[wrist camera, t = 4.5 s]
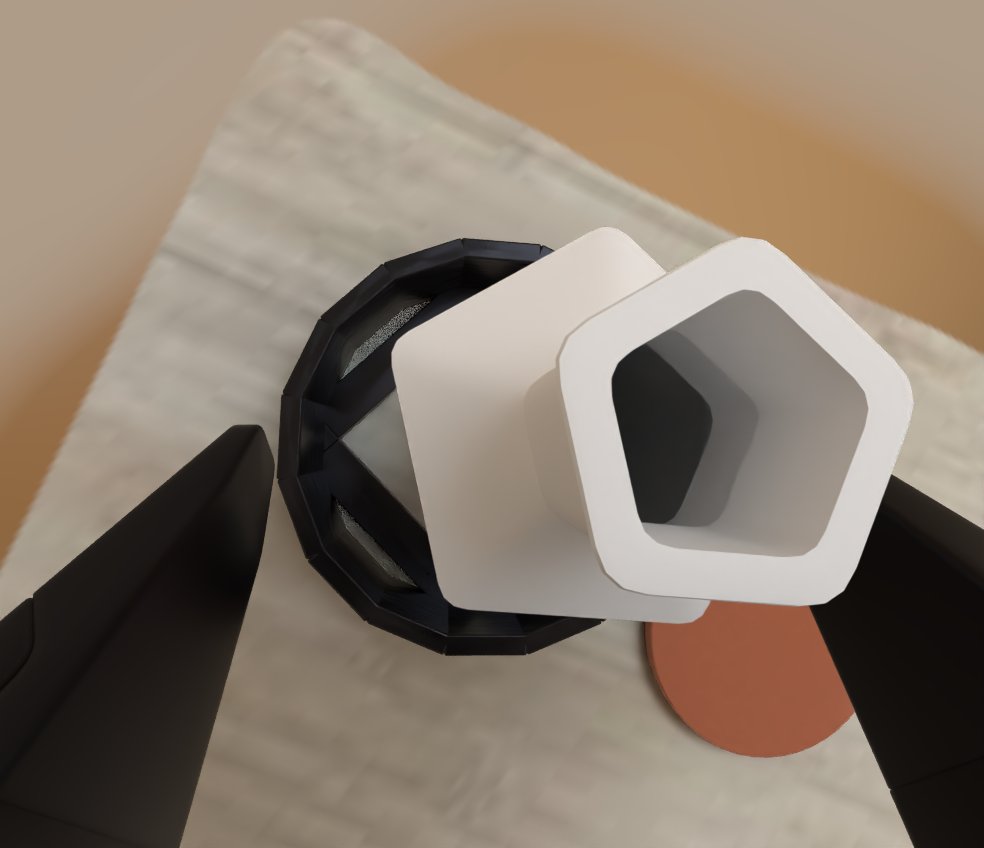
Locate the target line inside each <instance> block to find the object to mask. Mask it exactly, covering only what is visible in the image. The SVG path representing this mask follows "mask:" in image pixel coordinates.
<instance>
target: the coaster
mask: <svg viewBox="0 0 984 848" xmlns="http://www.w3.org/2000/svg"><path fill="white" fill-rule="evenodd" d="M645 641H646V648H647V654H648V659H649V663H650V666H651V670H652V673H653V676H654V678H655V680H656V682H657V685H658V687H659V689H660V691H661V692H662V694H663V696H664V697H665V699H666V700H667V702H668V703H669V705H670V706H671V707H672V708H673V710H674V711H675V712H676V713H677V715H678V716H679V717H680V718H681V719H682V720H683V721H684V722H685V723H686V724H687V725H688V726H689V727H690V728H691V729H692V730H693V731H694V732H695V733H697V734H698V735H700V736H701V737H702V738H704V739H705V740H707V741H708V742H710V743H712V744H714V745H716V746H718V747H720V748H722V749H724V750H727V751H730V752H733V753H736V754H740V755H746V756H751V757H778V756H785V755H789V754H793V753H797V752H800V751H803V750H805V749H808V748H810V747H813V746H814V745H816V744H818V743H820V742H821V741H823V740H825V739H827V738H828V737H829V736H830V735H832V734H833V733H834V732H836V731H837V730H838V729H839V728H840V727H841V726H842V725H843V724H844V723H845V722H846V721H848V720H849V719H850V717H851V716H852V715H853V713H854V712H855V710H854V708H853V706H852V704H851V701H850V699H849V697H848V695H847V692H846V690H845V688H844V685H843V683H842V681H841V679H840V676H839V674H838V672H837V669H836V667H835V665H834V663H833V660H832V658H831V656H830V654H829V651H828V649H827V647H826V644H825V642H824V640H823V638H822V635H821V633H820V631H819V628H818V626H817V624H816V622H815V619H814V617H813V615H812V613H811V610H810V608H809V606H799V607H794V606H780V605H766V604H752V603H739V602H725V601H710V603H709V605H708V607H707V609H706V610H705V612H704V613H703V615H702V616H701V617H699V618H698V619H696V620H695V621H693V622H690V623H681V624H675V623H660V622H645Z"/></svg>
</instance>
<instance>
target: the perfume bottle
mask: <svg viewBox="0 0 984 848" xmlns="http://www.w3.org/2000/svg"><path fill="white" fill-rule="evenodd" d="M392 369H393V374H394V379H395V383H396V388H397V393H398V397H399V402H400V407H401V411H402V416H403V421H404V426H405V430H406V435H407V440H408V444H409V449H410V454H411V458H412V463H413V468H414V472H415V477H416V482H417V486H418V491H419V496H420V500H421V505H422V510H423V515H424V519H425V524H426V529H427V533H428V538H429V543H430V547H431V552H432V557H433V561H434V566H435V571H436V575H437V580H438V584H439V587H440V589H441V592H442V594H443V597H444V598H445V599H446V600H447V601H448V602H450V603H451V604H452V605H453V606H456V607H459V608H463V609H467V610H481V611H496V612H511V613H526V614H541V615H556V616H571V617H585V618H600V619H615V620H630V621H645V622H660V623H675V624H681V623H690V622H693V621H695V620H696V619H698V618H699V617H701V616H702V615H703V613H704V612H705V610H706V609H707V607H708V605H709V603H710V601H725V602H739V603H752V604H766V605H780V606H794V607H799V606H808V605H817V604H824V603H827V602H828V601H829V600H831V599H832V598H834V597H835V596H837V595H838V594H840V593H841V592H843V591H844V590H845V588H846V586H847V584H848V582H849V581H850V579H851V577H852V575H853V573H854V572H855V570H856V568H857V565H858V562H859V560H860V557H861V554H862V552H863V549H864V546H865V543H866V541H867V538H868V535H869V533H870V530H871V527H872V525H873V522H874V519H875V516H876V514H877V511H878V508H879V506H880V503H881V500H882V497H883V495H884V492H885V489H886V487H887V484H888V481H889V478H890V476H891V473H892V470H893V468H894V465H895V462H896V460H897V457H898V454H899V451H900V449H901V446H902V443H903V441H904V438H905V435H906V432H907V430H908V427H909V423H910V418H911V413H912V408H913V404H914V399H913V395H912V390H911V386H910V382H909V378H908V377H907V376H906V375H905V373H904V372H903V371H902V369H901V368H900V367H899V365H898V364H897V363H896V361H895V360H894V359H893V358H892V357H891V356H890V355H889V354H888V353H887V352H886V351H885V350H884V349H883V348H882V347H881V346H880V345H879V344H878V343H877V342H875V341H874V340H873V339H872V338H871V337H870V336H869V335H868V334H867V333H866V332H865V331H864V330H863V329H862V328H861V327H860V326H859V325H858V324H857V323H856V322H855V321H854V320H853V319H852V318H851V317H850V316H849V315H847V314H846V313H845V312H844V311H843V310H842V309H841V308H840V307H839V306H838V305H837V304H836V303H835V302H834V301H833V300H832V299H831V298H830V297H829V296H828V295H827V294H826V293H825V292H824V291H823V290H822V289H821V288H819V287H818V286H817V285H816V284H815V283H814V282H813V281H812V280H811V279H810V278H809V277H808V276H807V275H806V274H805V273H804V272H803V271H802V270H801V269H800V268H799V267H798V266H797V265H796V264H795V263H793V261H792V260H790V259H789V258H788V257H787V256H786V255H785V254H784V253H782V252H781V251H779V250H778V249H776V248H775V247H774V246H772V245H771V244H769V243H768V242H767V241H765V240H759V239H752V238H746V237H738V238H735V239H732V240H729V241H726V242H723V243H720V244H717V245H715V246H713V247H712V248H710V249H708V250H706V251H705V252H703V253H701V254H699V255H698V256H696V257H694V258H692V259H691V260H689V261H687V262H685V263H684V264H682V265H680V266H678V267H677V268H675V269H673V270H671V271H669V272H668V273H667V272H666V271H665V270H664V269H663V268H662V267H661V266H659V265H658V264H657V263H656V262H655V261H654V260H653V259H652V258H651V257H650V256H649V255H648V254H647V253H646V252H645V251H644V250H643V249H641V248H640V247H639V246H638V245H637V244H636V243H635V242H634V241H633V240H632V239H631V238H630V237H629V236H628V235H626V234H625V233H623V232H622V231H620V230H619V229H617V228H611V227H602V228H599V229H596V230H593V231H591V232H589V233H587V234H585V235H584V236H582V237H580V238H578V239H576V240H574V241H573V242H571V243H569V244H567V245H565V246H563V247H562V248H560V249H558V250H556V251H554V252H552V253H551V254H549V255H547V256H545V257H543V258H541V259H540V260H538V261H536V262H534V263H532V264H531V265H529V266H527V267H525V268H523V269H521V270H520V271H518V272H516V273H514V274H512V275H510V276H509V277H507V278H505V279H503V280H501V281H499V282H498V283H496V284H494V285H492V286H490V287H488V288H487V289H485V290H483V291H481V292H479V293H478V294H476V295H474V296H472V297H470V298H468V299H467V300H465V301H463V302H461V303H459V304H457V305H456V306H454V307H452V308H450V309H448V310H446V311H445V312H443V313H441V314H439V315H437V316H435V317H434V318H432V319H430V320H428V321H426V322H425V323H423V324H421V325H419V326H417V327H415V328H414V329H412V330H410V331H408V332H407V333H406V334H404V335H403V336H402V337H401V338H399V339H398V340H397V341H396V344H395V346H394V348H393V350H392Z"/></svg>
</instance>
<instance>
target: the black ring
mask: <svg viewBox="0 0 984 848" xmlns="http://www.w3.org/2000/svg"><path fill="white" fill-rule="evenodd" d="M552 252H554V250H552V249H550V248H548V247H546V246H543V245H542V246H541V245H540V244H530V243H518V242H505V241H493V240H480V239H468V238H463V239H462V240H461V239H456V240H453V241H450V242H447V243H444V244H440V245H437V246H434V247H431V248H428V249H425V250H422V251H419V252H415V253H412V254H409V255H406V256H403V257H400V258H397V259H394V260H391V261H387V262H385V263H384V265H383V264H381V265H380V266H379V267H378V268H377V269H375V270H374V271H373V272H372V273H371V274H370V275H368V276H367V277H366V278H365V279H364V280H363V281H361V282H360V283H359V284H358V285H357V286H356V287H354V288H353V289H352V290H351V291H350V292H349V293H347V294H346V295H345V296H344V297H343V298H342V299H340V300H339V301H338V302H337V303H336V304H335V305H333V306H332V307H331V308H330V309H329V310H327V311H326V312H325V313H324V314H323V315H322V316H321V319H319V320H318V321H317V324H316V326H315V328H314V330H313V332H312V334H311V336H310V338H309V340H308V342H307V344H306V346H305V348H304V350H303V352H302V354H301V356H300V358H299V360H298V362H297V364H296V366H295V368H294V370H293V372H292V374H291V376H290V378H289V380H288V382H287V384H286V386H285V388H284V390H283V395H282V396H281V411H280V429H279V447H278V465H277V479H279V480H278V484H279V487H280V490H281V492H282V495H283V498H284V501H285V503H286V506H287V509H288V511H289V514H290V517H291V520H292V522H293V525H294V528H295V530H296V533H297V536H298V539H299V541H300V544H301V547H302V549H303V552H304V555H305V558H306V559H309V560H308V562H309V564H310V565H311V566H312V567H313V568H314V569H315V570H316V571H317V572H318V573H319V574H320V575H321V576H322V577H323V578H324V579H325V580H326V581H327V582H328V583H329V585H330V586H331V587H332V588H333V589H334V590H335V591H336V592H337V593H338V594H339V595H340V596H341V597H342V598H343V599H344V600H345V601H346V602H347V603H348V604H349V605H350V606H351V608H352V609H353V610H354V611H355V612H356V613H357V614H358V615H359V616H360V617H361V618H362V619H363V620H364V621H367V623H368V624H370V625H373V626H375V627H378V628H380V629H382V630H385V631H387V632H389V633H392V634H394V635H397V636H399V637H401V638H404V639H406V640H408V641H411V642H413V643H415V644H418V645H420V646H423V647H425V648H427V649H430V650H432V651H434V652H437V653H439V654H445V655H446V656H473V655H526V654H531V653H533V652H536V651H538V650H540V649H543V648H545V647H547V646H550V645H552V644H554V643H557V642H559V641H561V640H564V639H566V638H569V637H571V636H573V635H576V634H578V633H580V632H583V631H585V630H587V629H590V628H592V627H594V626H597V625H599V624H601V621H605V620H606V619H600V618H585V617H571V616H556V615H541V614H526V613H511V612H496V611H481V610H467V609H463V608H459V607H456V606H453V605H452V604H451V603H450V602H448V601H447V600H446V599H445V598H444V597H443V594H442V592H441V589H440V587H439V584H438V580H437V575H436V571H435V566H434V561H433V557H432V552H431V547H430V543H429V538H428V533H427V531H426V529H425V528H424V527H423V526H422V525H421V524H420V523H419V522H418V521H417V520H416V519H415V518H414V517H413V516H412V515H411V513H410V512H409V511H408V510H407V509H406V508H405V507H404V506H403V505H402V504H401V503H400V502H399V501H398V500H397V499H396V497H395V496H394V495H393V494H392V493H391V492H390V491H389V490H388V489H387V488H386V487H385V486H384V485H383V484H382V483H381V481H380V480H379V479H378V478H377V477H376V476H375V475H374V474H373V473H372V472H371V471H370V470H369V469H368V468H367V467H366V465H365V464H364V463H363V462H362V461H361V460H360V459H359V458H358V457H357V456H356V455H355V454H354V453H353V452H352V451H351V449H350V448H349V447H348V446H347V445H346V444H345V443H344V442H343V441H342V440H341V439H340V438H342V437H343V436H344V435H345V434H346V433H347V432H348V431H350V430H351V429H352V428H353V427H354V426H355V425H356V424H357V423H359V422H360V421H361V420H362V419H363V418H364V417H365V416H366V415H368V414H369V413H370V412H371V411H372V410H373V409H374V408H375V407H377V406H378V405H379V404H380V403H381V402H382V401H383V400H384V399H385V398H387V397H388V396H389V395H390V394H391V393H392V392H393V391H394V390H396V389H397V388H396V383H395V379H394V374H393V369H392V350H393V348H394V346H395V344H396V341H397V340H398V339H399V338H401V337H402V336H403V335H404V334H406V333H407V332H408V331H410V330H412V329H414V328H415V327H417V326H419V325H421V324H423V323H425V322H426V321H428V320H430V319H432V318H434V317H435V316H437V315H439V314H441V313H443V312H445V311H446V310H448V309H450V308H452V307H454V306H456V305H457V304H459V303H461V302H463V301H465V300H467V299H468V298H470V297H472V296H474V295H476V294H478V293H479V292H481V291H483V290H485V289H487V288H488V287H490V286H492V285H494V284H496V283H498V282H499V281H501V280H503V279H505V278H507V277H509V276H510V275H512V274H514V273H516V272H518V271H520V270H521V269H523V268H525V267H527V266H529V265H531V264H532V263H534V262H536V261H538V260H540V259H541V258H543V257H545V256H547V255H549V254H551V253H552ZM431 299H433V300H432V301H431V302H429V303H428V304H427V305H426V306H425V307H424V308H423V309H421V310H420V311H419V312H418V313H417V314H416V315H415V316H413V317H412V318H411V319H410V320H409V321H408V322H407V323H405V324H404V325H403V326H402V327H401V328H400V329H399V330H397V331H396V332H395V333H394V334H393V335H392V336H391V337H389V338H388V339H387V340H386V341H385V342H384V343H383V344H382V345H380V346H379V347H378V348H377V349H376V350H375V351H374V352H372V353H371V354H370V355H369V356H368V357H367V358H366V359H364V360H363V361H362V362H361V363H360V364H359V365H358V366H356V367H355V368H354V369H353V370H352V371H351V372H350V373H348V374H347V375H346V376H345V377H344V378H343V379H342V380H341V378H342V376H343V374H344V372H345V370H346V368H347V366H348V364H349V362H350V360H351V358H352V355H353V353H354V351H355V350H356V349H357V348H358V347H359V346H360V345H362V344H363V343H364V342H365V341H366V340H367V339H368V338H370V337H371V336H372V335H373V334H374V333H375V332H376V331H378V330H379V329H380V328H381V327H382V326H383V325H384V324H386V323H387V322H388V321H389V320H390V319H391V318H393V317H394V316H395V315H396V314H397V313H398V312H399V311H401V310H402V309H404V308H407V307H410V306H413V305H416V304H419V303H422V302H425V301H428V300H431ZM334 497H335V498H336V499H337V500H338V501H339V503H340V504H341V505H342V506H343V507H344V508H345V509H346V510H347V511H348V512H349V513H350V514H351V515H352V516H353V517H354V518H355V519H356V521H357V522H358V523H359V524H360V525H361V526H362V527H363V528H364V529H365V530H366V531H367V532H368V533H369V534H370V535H371V536H372V537H373V539H374V540H375V541H376V542H377V543H378V544H379V545H380V546H381V547H382V548H383V549H384V550H385V551H386V552H387V553H388V554H389V555H390V557H391V558H392V559H393V560H394V561H395V562H396V563H397V564H398V565H399V566H400V567H401V568H402V569H403V570H404V571H405V572H406V573H407V575H408V576H409V577H410V578H411V579H412V580H413V581H414V582H415V583H416V584H417V585H418V586H419V587H420V588H421V589H420V588H417V587H415V586H413V585H410V584H408V583H406V582H403V581H401V580H399V579H397V578H394V577H392V576H390V575H389V574H388V573H387V572H386V571H385V570H384V569H383V568H382V567H381V566H380V565H379V564H378V563H377V562H376V560H375V559H374V558H373V557H372V556H371V555H370V554H369V553H368V552H367V551H366V550H365V549H364V548H363V547H362V546H361V545H360V544H359V543H358V541H357V540H356V539H355V538H354V537H353V536H352V535H351V534H350V533H349V532H348V531H347V530H346V528H345V525H344V522H343V519H342V517H341V514H340V511H339V509H338V506H337V503H336V500H335V498H334Z"/></svg>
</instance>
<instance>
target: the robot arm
mask: <svg viewBox="0 0 984 848" xmlns="http://www.w3.org/2000/svg"><path fill="white" fill-rule="evenodd" d="M274 469H275V465H274V458H273V455H272V452H271V449H270V447H269V444H268V441H267V438H266V435H265V432H264V430H263V428H262V427H261V426H259V425H234V426H232V427H231V428H229V429H228V430H227V431H226V432H224V433H223V434H222V435H221V436H220V437H218V438H217V439H216V440H215V441H214V442H212V443H211V444H210V445H209V446H208V447H207V448H205V449H204V450H203V451H202V452H201V453H199V454H198V455H197V456H196V457H195V458H194V459H192V460H191V461H190V462H189V463H188V464H186V465H185V466H184V467H183V468H182V469H180V470H179V471H178V472H177V473H176V474H175V475H173V476H172V477H171V478H170V479H169V480H167V481H166V482H165V483H164V484H163V485H161V486H160V487H159V488H158V489H157V490H156V491H154V492H153V493H152V494H151V495H150V496H148V497H147V498H146V499H145V500H144V501H142V502H141V503H140V504H139V505H138V506H137V507H135V508H134V509H133V510H132V511H131V512H129V513H128V514H127V515H126V516H125V517H124V518H122V519H121V520H120V521H119V522H118V523H116V524H115V525H114V526H113V527H112V528H110V529H109V530H108V531H107V532H106V533H105V534H103V535H102V536H101V537H100V538H99V539H97V540H96V541H95V542H94V543H93V544H91V545H90V546H89V547H88V548H87V549H86V550H84V551H83V552H82V553H81V554H80V555H78V556H77V557H76V558H75V559H74V560H72V561H71V562H70V563H69V564H68V565H67V566H65V567H64V568H63V569H62V570H61V571H59V572H58V573H57V574H56V575H55V576H53V577H52V578H51V579H50V580H49V581H48V582H46V583H45V584H44V585H43V586H42V587H40V588H39V589H38V590H37V591H36V592H35V593H34V594H33V598H28V599H26V600H25V601H24V602H22V603H21V604H20V605H19V606H18V607H16V608H15V609H14V610H13V611H12V612H10V613H9V614H8V615H7V616H6V617H5V618H3V619H2V620H1V621H0V848H179V847H180V843H181V840H182V836H183V833H184V829H185V826H186V822H187V819H188V815H189V811H190V808H191V804H192V801H193V797H194V794H195V790H196V787H197V783H198V779H199V776H200V772H201V769H202V765H203V762H204V758H205V755H206V751H207V747H208V744H209V740H210V737H211V733H212V730H213V726H214V723H215V719H216V715H217V712H218V708H219V705H220V701H221V698H222V694H223V691H224V687H225V683H226V680H227V676H228V673H229V669H230V666H231V662H232V659H233V655H234V651H235V648H236V644H237V641H238V637H239V634H240V630H241V627H242V623H243V619H244V616H245V612H246V609H247V605H248V602H249V598H250V595H251V591H252V587H253V584H254V580H255V577H256V573H257V570H258V566H259V562H260V558H261V554H262V549H263V543H264V537H265V531H266V524H267V517H268V511H269V504H270V497H271V491H272V484H273V478H274ZM808 606H809V608H810V610H811V613H812V615H813V617H814V619H815V622H816V624H817V626H818V628H819V631H820V633H821V635H822V638H823V640H824V642H825V644H826V647H827V649H828V651H829V654H830V656H831V658H832V660H833V663H834V665H835V667H836V669H837V672H838V674H839V676H840V679H841V681H842V683H843V685H844V688H845V690H846V692H847V695H848V697H849V699H850V701H851V704H852V706H853V708H854V710H855V713H856V715H857V717H858V720H859V722H860V724H861V726H862V729H863V731H864V733H865V736H866V738H867V740H868V742H869V745H870V747H871V749H872V752H873V754H874V756H875V758H876V761H877V763H878V765H879V767H880V770H881V772H882V774H883V777H884V779H885V781H886V783H887V786H888V788H889V789H891V790H890V793H891V796H892V798H893V800H894V802H895V805H896V807H897V809H898V812H899V814H900V816H901V818H902V821H903V823H904V825H905V828H906V830H907V832H908V834H909V837H910V839H911V841H912V844H913V846H914V848H984V530H983V529H982V528H980V527H978V526H977V525H975V524H973V523H972V522H970V521H968V520H967V519H965V518H963V517H962V516H960V515H958V514H957V513H955V512H953V511H952V510H950V509H948V508H947V507H945V506H943V505H942V504H940V503H938V502H937V501H935V500H934V499H932V498H930V497H929V496H927V495H925V494H924V493H922V492H920V491H919V490H917V489H915V488H914V487H912V486H910V485H909V484H907V483H905V482H904V481H902V480H900V479H899V478H897V477H895V476H894V475H892V474H891V476H890V478H889V481H888V484H887V487H886V489H885V492H884V495H883V497H882V500H881V503H880V506H879V508H878V511H877V514H876V516H875V519H874V522H873V525H872V527H871V530H870V533H869V535H868V538H867V541H866V543H865V546H864V549H863V552H862V554H861V557H860V560H859V562H858V565H857V568H856V570H855V572H854V573H853V575H852V577H851V579H850V581H849V582H848V584H847V586H846V588H845V590H844V591H843V592H841V593H840V594H838V595H837V596H835V597H834V598H832V599H831V600H829V601H828V602H827V603H824V604H817V605H808Z"/></svg>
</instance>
